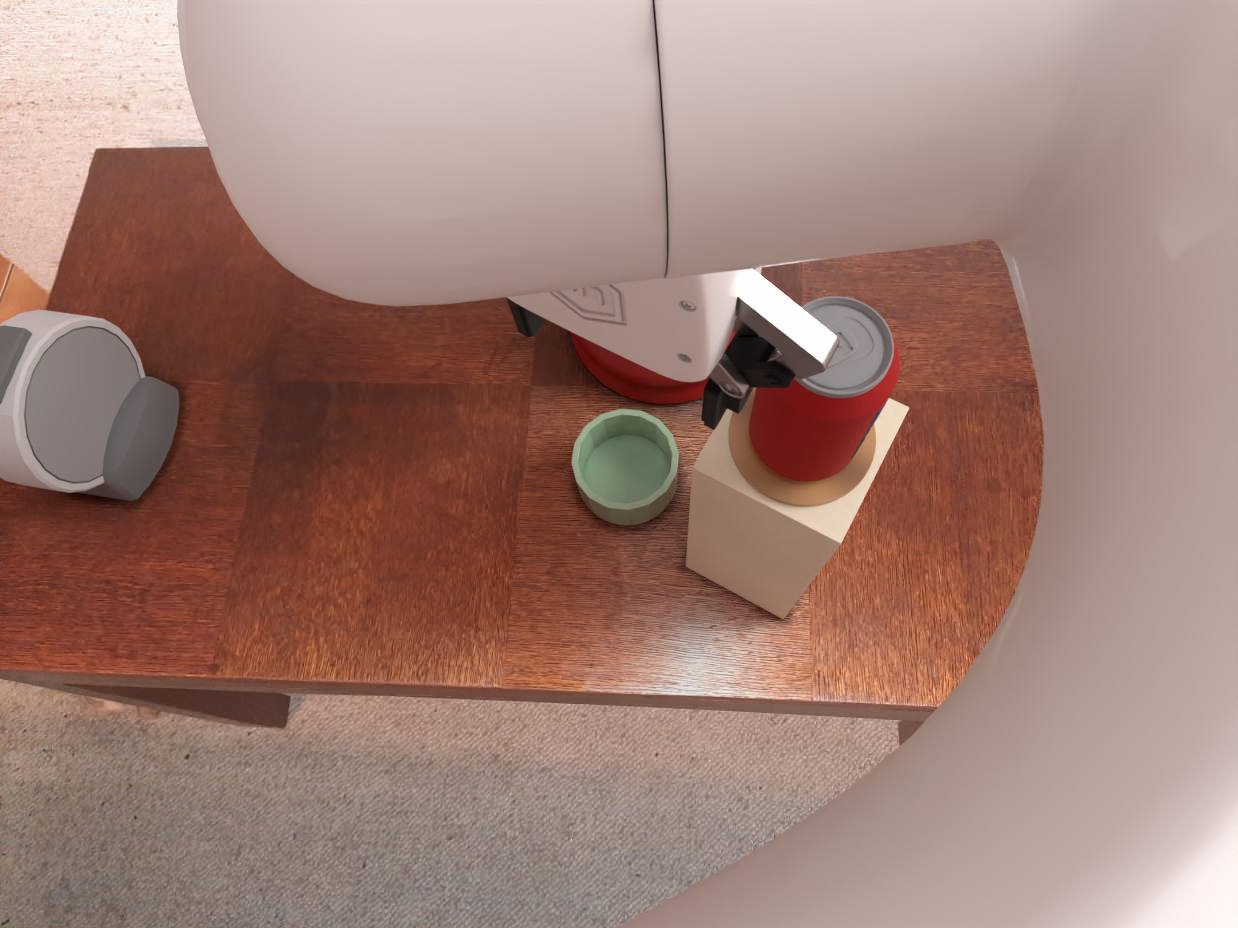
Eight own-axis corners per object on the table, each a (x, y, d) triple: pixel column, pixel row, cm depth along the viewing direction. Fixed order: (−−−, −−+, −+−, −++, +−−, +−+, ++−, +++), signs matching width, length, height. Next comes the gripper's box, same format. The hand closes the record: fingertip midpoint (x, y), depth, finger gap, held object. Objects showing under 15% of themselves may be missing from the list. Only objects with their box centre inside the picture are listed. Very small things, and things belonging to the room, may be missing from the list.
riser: (783, 619, 77) (840, 543, 51) (685, 566, 79) (691, 467, 53) (831, 525, 80) (909, 407, 53) (735, 476, 82) (765, 339, 55)
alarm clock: (108, 360, 90) (-25, 265, 73) (197, 373, 89) (84, 280, 72) (48, 506, 85) (-110, 440, 68) (143, 521, 84) (6, 458, 67)
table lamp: (800, 349, 86) (925, -55, 43) (627, 440, 84) (581, 108, 41) (701, 206, 92) (725, -269, 50) (537, 287, 90) (417, -137, 48)
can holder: (646, 543, 80) (645, 527, 75) (559, 496, 82) (552, 478, 77) (695, 458, 83) (697, 438, 77) (609, 415, 85) (605, 392, 80)
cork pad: (836, 532, 51) (837, 531, 51) (702, 464, 53) (703, 462, 52) (899, 410, 53) (900, 407, 53) (768, 349, 55) (769, 346, 55)
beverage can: (880, 451, 52) (938, 364, 41) (787, 506, 51) (819, 433, 40) (816, 366, 54) (854, 261, 43) (726, 417, 53) (740, 324, 42)
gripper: (277, 61, 24) (434, 340, 41) (831, 311, 21) (762, 509, 37) (423, -110, 26) (517, 221, 43) (953, 91, 23) (837, 370, 39)
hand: (631, 355), depth 40 cm, fingers open, 9 cm apart
